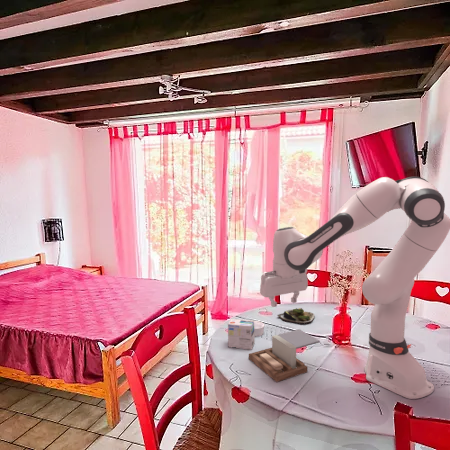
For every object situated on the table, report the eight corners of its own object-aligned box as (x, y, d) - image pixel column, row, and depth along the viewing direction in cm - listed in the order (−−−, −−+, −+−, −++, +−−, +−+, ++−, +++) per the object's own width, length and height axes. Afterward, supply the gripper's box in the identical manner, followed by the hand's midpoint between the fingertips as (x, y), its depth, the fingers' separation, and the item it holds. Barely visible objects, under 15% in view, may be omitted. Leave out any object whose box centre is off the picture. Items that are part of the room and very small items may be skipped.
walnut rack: (307, 371, 126) (307, 365, 126) (276, 382, 119) (276, 375, 119) (277, 350, 143) (277, 344, 142) (248, 358, 136) (248, 352, 136)
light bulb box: (255, 343, 150) (254, 319, 149) (252, 350, 143) (251, 326, 142) (231, 340, 153) (231, 317, 151) (227, 347, 146) (227, 323, 145)
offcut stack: (282, 373, 125) (282, 365, 125) (276, 376, 124) (276, 367, 124) (266, 360, 135) (266, 352, 135) (259, 362, 134) (259, 354, 133)
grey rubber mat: (319, 342, 150) (319, 340, 150) (294, 349, 144) (294, 347, 144) (299, 330, 162) (299, 329, 162) (275, 336, 156) (275, 335, 156)
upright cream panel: (296, 369, 128) (296, 346, 127) (290, 371, 127) (290, 348, 126) (277, 355, 138) (277, 334, 137) (272, 357, 137) (272, 336, 136)
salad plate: (287, 309, 193) (287, 301, 192) (318, 314, 184) (319, 306, 183) (274, 320, 176) (274, 312, 175) (308, 327, 167) (309, 318, 167)
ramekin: (267, 331, 162) (267, 322, 162) (260, 338, 155) (260, 329, 154) (250, 328, 166) (250, 319, 166) (242, 335, 159) (242, 326, 158)
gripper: (266, 274, 121) (266, 311, 123) (310, 268, 131) (309, 302, 132) (256, 270, 127) (256, 306, 129) (299, 264, 136) (299, 297, 138)
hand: (284, 304), depth 130 cm, fingers open, 8 cm apart
